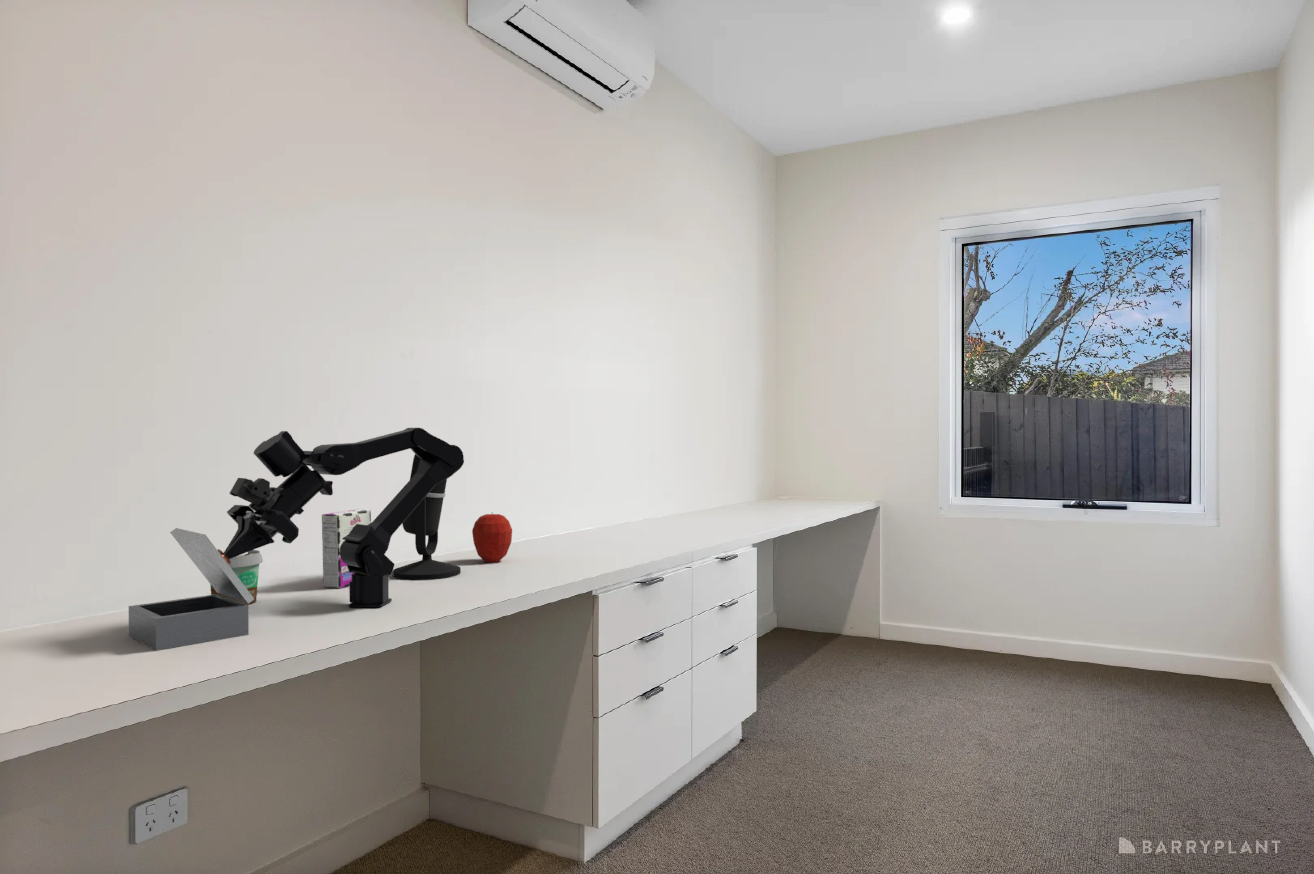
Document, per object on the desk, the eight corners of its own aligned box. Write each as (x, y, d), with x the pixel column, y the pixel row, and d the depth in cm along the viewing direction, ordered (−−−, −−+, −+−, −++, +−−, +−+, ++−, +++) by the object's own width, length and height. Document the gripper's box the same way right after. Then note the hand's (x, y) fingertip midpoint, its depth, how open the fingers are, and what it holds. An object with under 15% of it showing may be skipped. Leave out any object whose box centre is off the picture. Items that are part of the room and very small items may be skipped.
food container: (234, 610, 158) (234, 558, 158) (206, 609, 159) (206, 558, 159) (276, 598, 170) (276, 549, 170) (250, 597, 172) (249, 549, 172)
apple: (519, 559, 221) (519, 508, 221) (497, 565, 212) (497, 511, 211) (487, 557, 225) (487, 506, 225) (464, 562, 216) (464, 509, 216)
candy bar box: (354, 578, 192) (354, 508, 192) (372, 580, 191) (372, 509, 191) (320, 587, 182) (320, 513, 182) (339, 589, 180) (339, 514, 180)
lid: (217, 592, 149) (231, 581, 151) (248, 603, 140) (263, 591, 142) (169, 532, 144) (185, 521, 145) (199, 539, 134) (215, 527, 136)
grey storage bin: (217, 621, 149) (217, 593, 149) (248, 634, 140) (248, 604, 140) (128, 635, 139) (128, 606, 139) (155, 650, 130) (155, 618, 130)
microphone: (405, 568, 207) (405, 449, 207) (467, 568, 206) (467, 449, 206) (382, 579, 191) (382, 450, 191) (450, 580, 191) (449, 450, 190)
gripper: (242, 461, 155) (172, 521, 146) (285, 464, 142) (212, 529, 133) (281, 504, 160) (217, 563, 151) (326, 510, 147) (258, 575, 139)
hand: (224, 557), depth 144 cm, fingers closed, pressing on lid
